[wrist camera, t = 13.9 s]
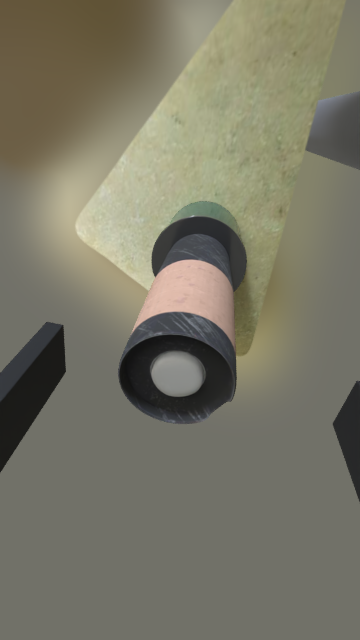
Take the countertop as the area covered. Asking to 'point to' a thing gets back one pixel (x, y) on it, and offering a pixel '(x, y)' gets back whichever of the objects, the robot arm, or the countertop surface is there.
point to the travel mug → (184, 336)
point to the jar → (206, 222)
